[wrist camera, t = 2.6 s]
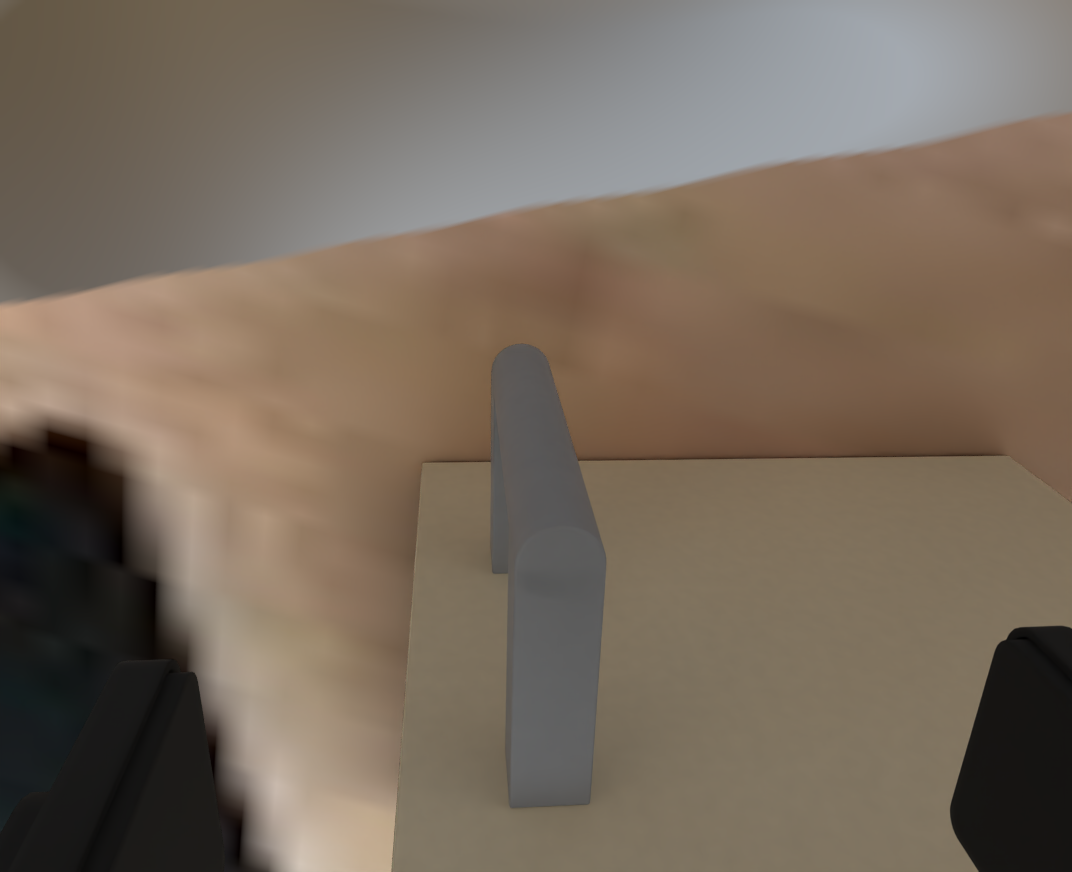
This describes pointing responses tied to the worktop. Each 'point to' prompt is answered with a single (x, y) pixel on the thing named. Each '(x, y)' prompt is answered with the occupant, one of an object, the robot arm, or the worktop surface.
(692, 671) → the cupboard door
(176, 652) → the worktop surface
